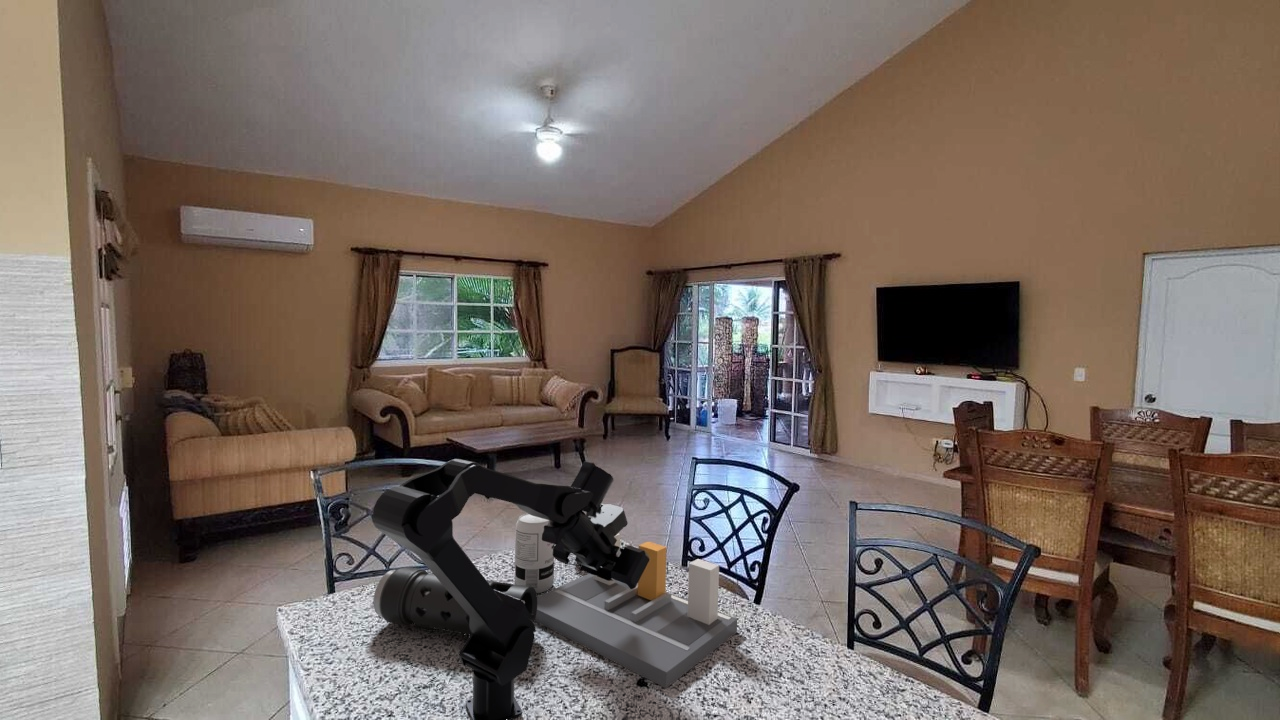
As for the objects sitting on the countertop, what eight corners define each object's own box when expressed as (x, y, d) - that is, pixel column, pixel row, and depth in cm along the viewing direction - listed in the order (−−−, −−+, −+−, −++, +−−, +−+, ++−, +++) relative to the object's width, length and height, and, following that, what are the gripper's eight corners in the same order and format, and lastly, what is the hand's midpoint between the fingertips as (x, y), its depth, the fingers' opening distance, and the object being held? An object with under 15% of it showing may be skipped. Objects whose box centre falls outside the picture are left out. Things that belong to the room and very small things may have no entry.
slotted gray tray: (666, 688, 86) (668, 608, 85) (523, 615, 107) (524, 551, 107) (736, 632, 103) (738, 565, 102) (601, 578, 124) (602, 523, 124)
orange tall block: (656, 602, 108) (657, 551, 107) (637, 595, 111) (638, 545, 110) (665, 597, 110) (666, 547, 110) (646, 590, 113) (648, 541, 113)
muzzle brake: (513, 661, 92) (514, 599, 92) (369, 635, 99) (369, 578, 99) (537, 632, 101) (538, 576, 101) (404, 610, 108) (405, 557, 108)
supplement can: (510, 582, 121) (511, 514, 121) (547, 576, 125) (548, 510, 124) (519, 598, 114) (520, 525, 114) (558, 591, 118) (559, 521, 117)
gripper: (644, 504, 92) (680, 553, 101) (566, 484, 104) (604, 529, 113) (611, 565, 86) (652, 611, 95) (532, 536, 98) (575, 579, 107)
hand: (619, 578), depth 102 cm, fingers closed
